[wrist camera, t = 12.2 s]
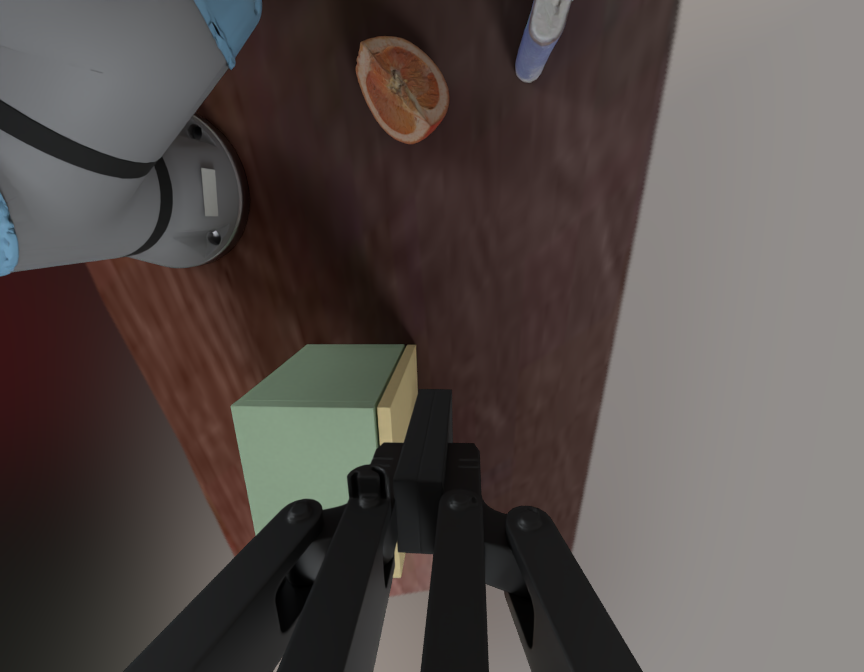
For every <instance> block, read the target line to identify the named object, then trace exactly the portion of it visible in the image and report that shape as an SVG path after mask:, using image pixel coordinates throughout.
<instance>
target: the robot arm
mask: <svg viewBox="0 0 864 672" xmlns="http://www.w3.org/2000/svg"><path fill="white" fill-rule="evenodd" d="M261 13H262V0H0V276H4V275H7V274H10V272H16V271H24V270H30V269H38V268H45V267H52V266H60V265H67V264H74V263H83V262H90V261H98V260H105V259H113V258H119V257H130V258H134V259H138V260H142V261H146V262H150V263H154V264H158V265H161V266H165V267H171V268H188V267H194V266H199V265H204V264H208V263H211V262H213V261H216V260H218V259H219V258H221V257H223V256H224V255H225V254H227V253H228V252H229V251H230V250H231V249H232V248H233V247H234V246H235V245H236V243H237V242H238V240H239V239H240V237H241V235H242V233H243V231H244V229H245V226H246V223H247V219H248V213H249V188H248V183H247V178H246V175H245V171H244V169H243V166H242V163H241V161H240V159H239V157H238V155H237V153H236V152H235V150H234V148H233V147H232V145H231V144H230V143H229V141H228V140H227V139H226V138H225V136H224V135H223V134H222V133H221V132H220V131H219V130H218V129H217V128H216V127H215V126H214V125H212V124H211V123H210V122H208V121H207V120H206V119H204V118H203V117H201V116H199V115H197V114H195V112H196V111H197V109H198V108H199V107H200V105H201V104H202V103H203V101H204V100H205V99H206V97H207V96H208V95H209V93H210V92H211V91H212V89H213V88H214V87H215V85H216V84H217V83H218V81H219V80H220V79H221V77H222V76H223V75H224V74H225V72H226V71H227V70H228V68H230V69H231V70H232V69H233V67H234V66H235V63H236V62H235V57H236V56H237V54H238V53H239V51H240V50H241V48H242V47H243V45H244V44H245V42H246V40H247V39H248V37H249V36H250V34H251V33H252V31H253V30H254V28H255V27H256V25H257V24H258V22H259V20H260V17H261ZM347 484H348V493H349V500H348V502H347V503H346V504H344V505H341V506H338V507H334V508H329V509H324V510H323V509H322V505H321V504H320V503H319V502H318V501H316V500H314V499H301V500H296V501H294V502H292V503H289V504H288V505H286V506H285V507H284V508H283V509H281V510H280V511H279V512H278V514H277V515H276V516H275V517H274V518H273V519H272V520H271V521H270V522H269V523H268V524H267V525H266V526H265V527H264V528H263V529H262V530H261V531H260V532H259V533H258V534H257V535H256V536H255V537H254V538H253V539H252V540H251V541H250V542H249V543H248V544H247V545H246V546H245V547H244V548H243V549H242V550H241V551H240V552H239V553H238V554H237V555H236V556H235V557H234V558H233V560H232V561H231V562H230V563H229V564H228V565H227V566H226V567H225V568H224V569H223V570H222V571H221V572H220V573H219V574H218V575H217V576H216V577H215V578H214V579H213V580H212V581H211V582H210V583H209V584H208V585H207V586H206V587H205V588H204V589H203V590H202V591H201V592H200V593H199V595H197V596H196V597H195V598H194V599H193V600H192V601H191V603H189V605H188V606H187V607H186V608H185V609H184V610H183V611H182V612H181V613H180V614H179V615H178V616H177V617H176V618H175V619H174V620H173V621H172V622H171V623H170V624H169V625H168V626H167V627H166V628H165V629H164V630H163V631H162V632H161V633H160V634H159V635H158V636H157V637H156V638H155V639H154V640H153V641H152V642H151V643H150V644H149V645H148V647H147V648H145V650H144V651H143V652H142V653H141V654H140V655H139V656H138V657H137V658H136V659H135V660H134V661H133V662H132V663H131V664H130V665H129V666H128V667H127V668H126V669H125V670H124V671H123V672H273V670H274V669H275V667H276V666H277V664H278V663H279V661H280V660H281V658H282V660H281V662H280V665H279V668H278V670H277V672H373V670H374V665H375V661H376V655H377V651H378V646H379V641H380V637H381V632H382V626H383V621H384V617H385V613H386V608H387V603H388V598H389V593H390V589H391V584H392V579H393V574H394V569H395V554H394V552H395V548H396V543H397V549H398V552H400V553H420V554H433V563H432V572H431V581H430V590H429V599H428V609H427V618H426V627H425V636H424V645H423V654H422V664H421V672H489V664H488V663H489V662H488V636H487V611H486V585H485V584H487V585H490V586H493V587H495V588H498V589H501V590H503V591H504V594H505V598H506V601H507V604H508V607H509V609H510V612H511V615H512V618H513V621H514V624H515V626H516V629H517V632H518V635H519V638H520V641H521V643H522V646H523V649H524V652H525V654H526V657H527V660H528V663H529V666H530V669H531V672H643V671H642V670H641V668H640V666H639V665H638V663H637V661H636V660H635V658H634V656H633V655H632V653H631V651H630V650H629V648H628V646H627V644H626V643H625V641H624V639H623V638H622V636H621V634H620V633H619V631H618V629H617V628H616V626H615V624H614V623H613V621H612V620H611V618H610V616H609V615H608V613H607V612H606V609H605V608H604V606H603V604H602V603H601V601H600V599H599V598H598V596H597V594H596V593H595V591H594V589H593V588H592V586H591V584H590V583H589V581H588V579H587V578H586V576H585V574H584V573H583V571H582V569H581V568H580V566H579V564H578V563H577V561H576V559H575V558H574V556H573V554H572V553H571V551H570V549H569V548H568V546H567V544H566V543H565V541H564V539H563V538H562V536H561V534H560V532H559V531H558V529H557V527H556V526H555V524H554V522H553V521H552V519H551V518H550V517H549V516H548V515H547V513H546V512H544V511H542V510H540V509H539V508H535V507H532V506H519V507H515V508H513V509H512V510H510V511H509V512H508V514H504V513H501V512H498V511H495V510H493V509H492V508H490V507H489V506H488V505H487V504H485V502H484V501H483V499H482V495H481V475H480V451H479V450H478V448H477V447H476V446H475V444H474V443H453V434H452V390H444V389H419V391H418V395H417V398H416V402H415V405H414V409H413V412H412V416H411V419H410V422H409V426H408V429H407V433H406V436H405V440H404V443H395V442H384V443H383V444H382V445H380V446H379V447H378V448H377V449H376V451H375V453H374V456H373V460H372V461H371V463H370V464H367V465H362V466H359V467H356V468H355V469H353V470H352V471H350V473H349V474H348V475H347Z"/></svg>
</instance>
